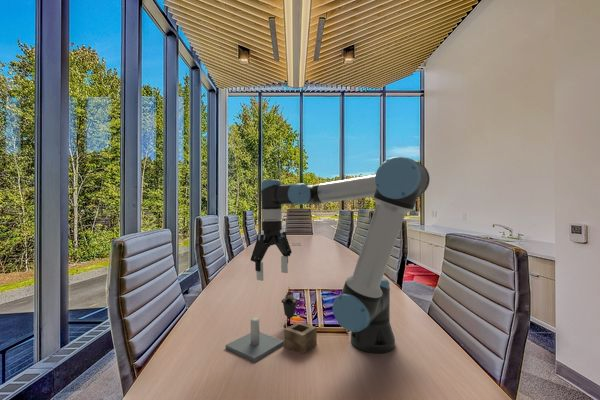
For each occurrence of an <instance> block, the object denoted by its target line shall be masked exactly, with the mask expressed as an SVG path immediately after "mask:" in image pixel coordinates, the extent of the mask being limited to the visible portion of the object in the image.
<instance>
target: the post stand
mask: <svg viewBox="0 0 600 400" xmlns="http://www.w3.org/2000/svg"><path fill="white" fill-rule="evenodd" d="M283 346H284V340H282V339H279V338H278V337H274V336H271V335H269V334H266V333H263V332H261V331H260V318H258V317H254V318H253V317H252V318H251V319H250V332H249V333H247V334H245V335H243V336H241V337H239V338H237V339H235V340H233V341H231V342H229V343H227V344H225V349H226V350H227V351H229V352H233V353H234V354H237V355H239V356H241V357H242V356H243V358H244V359H246V360H249V361H251V362H253V363H256V362H257V361H259V360H261V359H262V358H264V357H266V356H267V355H269V354H270V353H273V352H274V351H275V350H277V349H280V348H281V347H283Z"/></svg>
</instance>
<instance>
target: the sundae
mask: <svg viewBox="0 0 600 400" xmlns="http://www.w3.org/2000/svg"><path fill="white" fill-rule="evenodd" d="M288 289H290V287H288ZM298 302H299V300H298V299H297V298H295V297H294V296H293V294H292V293H291V292H290V291H288V292H286V294H285V297H284V298H283V299H282V300H281V303H282V305H283V312H284V315H285V316H286V317H287V319H288V318H291V319H292V317H294V316H295V314H296V308H297V307H296V306H297V303H298ZM286 324H287V323H284V324H283V328H284V329H285V328H286Z"/></svg>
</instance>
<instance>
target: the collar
mask: <svg viewBox="0 0 600 400" xmlns="http://www.w3.org/2000/svg"><path fill="white" fill-rule="evenodd" d="M317 330H318V329H317V326H313V325H310V324H308V323H304V322H301V321H296V322H295V323H293V325H291V326H289V327H287V328H285V327H284V329H283V339H284V340H283V341H284V345H283V347H284V348H286V349H289V350H292V351H295V352H297V353H299V354H302V355H304V354H305V353H306V352H307V351H309V350H311V349H312V348H314V347H315V346H317V343H318V342H317Z"/></svg>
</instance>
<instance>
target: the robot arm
mask: <svg viewBox="0 0 600 400" xmlns="http://www.w3.org/2000/svg"><path fill="white" fill-rule="evenodd" d="M430 181H431V180H430V174H429V171H428V169H427V168H426V166H424V165H423V164H422V163H420V162H419V161H415V160H414V159H413V158H409V157H405V156H392V157H390V158H388V159H386V160H384V161H383V162H382V163H381V164H380V165H379V166H378V167H377V170H376V172H375V174H373V175H372V174H370V175H367V176H359V177H353V178H348V179H342V180H334V181H329V182H328V181H327V182H323V183H315V184H306V183H304V182H294V183H288V184H282V182H281V180H280V179H263V180H262V182H261V186H260V187H261V190H260V195H261V219H262V220H263V221H262V220H261V231H263V234H257V235H256V241H255V245H254V247H253V251H252V254H251V256H250V261H251V262H254V263H255V266H254V267H255V272H256V280H257V281H264V262H263V259H264V257H265V255H266V253H267V251H268V249H269V248H270V247H271V246H274V245H275V246H276V247H277V249H278V250H279V251H280V254H281V256H280V269H281V270H280V271H281V272H280V273H282V274H288V270H289V269H288V267H289V266H288V264H289V257H291V254H292V253H293V251H292V248H291V245H290V243H289V240H288V237H287V232H286V231H283V228H282V225H283V223H282V221H281V220H282V218H283V216H282V206H283V205H297V206H298V205H300V206H301V205H318V204H324V203H329V202H331V203H332V202H340V201H341V202H342V201H349V200H356V199H365V198H373V200H374V201H375V203H376V204H375V208H374V211H373V214H372V217H371V221H370V222H369V226H368V229H367V232H366V234H365V239H364V242H363V245H362V247H361V250H360V252H359V256H358V258H357V262H356V264H355V268H354V271H353V273H352V275H350V276H348V277H347V278H346V279H345V281H344V284H343V288H342V290H341V293H339V294H338V295H337V296H336V297H335V299H334V300H333V303H332V315H333V317H335V320H336V322H337V323H338V325H339V326H340V327H342V328H343V329H344V330H345V331H349V332H350V342H351V343H350V344H352V346H353V347H355V348H356V349H358V350H361V351H363V352H365V353H371V354H384V353H388V352H392V351H393V350H394V349H395V347H396V340H395V339H396V338H395V334H394V331H393V328H392V326H391V322H390V321H391V320H390V319H391V316H390V314H391V313H390V311H391V310H390V305H391V301H390V300H391V298H390V297H391V296H390V293H391V292H390V291H391V288H390V281H389V280H388V279H387V278H385V277H384V276H385V272H386V269H387V267H388V264H389V261H390V258H391V255H392V253H393V249H394V247H395V244H396V241H397V239H398V237H399V234H400V230H401V228H402V225H403V221H404V219H405V216H406V214H408V213H410V212H411V211H413V210H414V207H415V205H416V203H417V200H418V197H420V196H421V195H423V193H425V192H427V189H428V188H429V186H430Z"/></svg>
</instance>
